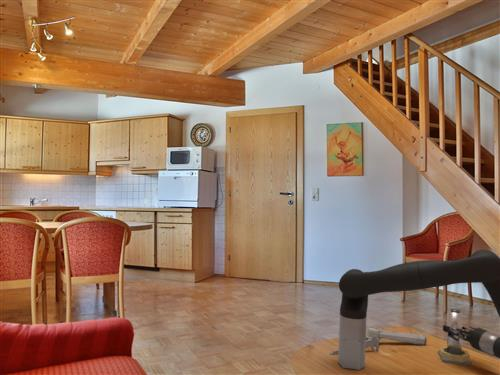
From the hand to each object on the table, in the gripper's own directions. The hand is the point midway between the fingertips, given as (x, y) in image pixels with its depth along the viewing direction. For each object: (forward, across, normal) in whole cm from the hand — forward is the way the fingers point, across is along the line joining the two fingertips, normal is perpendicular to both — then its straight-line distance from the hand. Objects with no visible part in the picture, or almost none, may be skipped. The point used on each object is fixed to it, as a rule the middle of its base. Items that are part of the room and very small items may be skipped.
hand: (449, 327), depth 157 cm
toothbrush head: (+16, +12, +11) cm, 23 cm away
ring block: (-3, 0, +11) cm, 11 cm away
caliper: (+12, +34, +12) cm, 38 cm away
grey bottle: (-3, 0, +10) cm, 10 cm away
